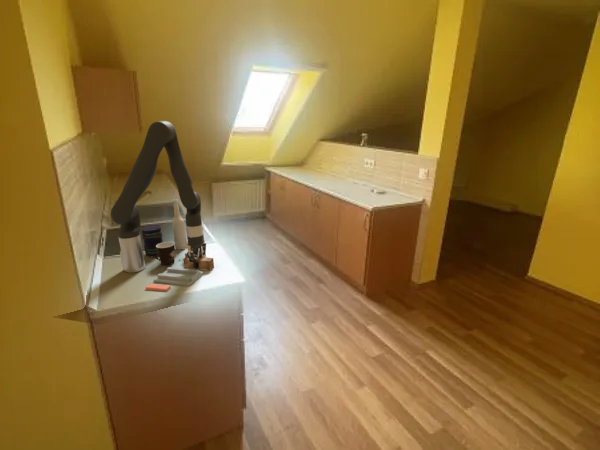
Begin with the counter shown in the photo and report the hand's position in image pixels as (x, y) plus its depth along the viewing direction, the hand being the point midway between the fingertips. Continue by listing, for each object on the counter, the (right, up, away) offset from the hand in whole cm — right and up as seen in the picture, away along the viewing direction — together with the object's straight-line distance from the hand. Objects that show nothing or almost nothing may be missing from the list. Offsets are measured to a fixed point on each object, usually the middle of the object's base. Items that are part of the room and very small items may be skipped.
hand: (198, 266), depth 161 cm
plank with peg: (0, -1, 0) cm, 1 cm away
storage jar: (-29, +5, +18) cm, 35 cm away
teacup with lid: (-6, +3, +13) cm, 15 cm away
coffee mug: (-18, +1, +5) cm, 19 cm away
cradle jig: (-6, -4, -10) cm, 12 cm away
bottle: (-18, +7, +26) cm, 33 cm away
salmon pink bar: (-11, -7, -20) cm, 24 cm away
